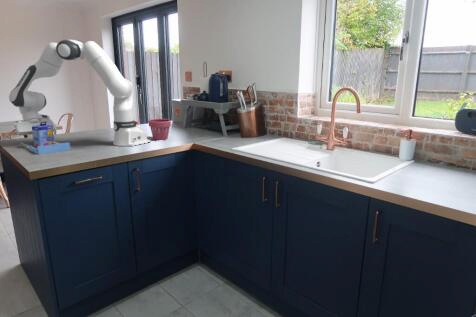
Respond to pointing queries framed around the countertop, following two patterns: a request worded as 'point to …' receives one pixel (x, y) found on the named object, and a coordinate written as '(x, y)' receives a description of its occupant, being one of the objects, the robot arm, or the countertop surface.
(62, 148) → the light blue tray
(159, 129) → the plant pot
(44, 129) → the ink cartridge box
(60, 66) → the robot arm
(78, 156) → the countertop surface
